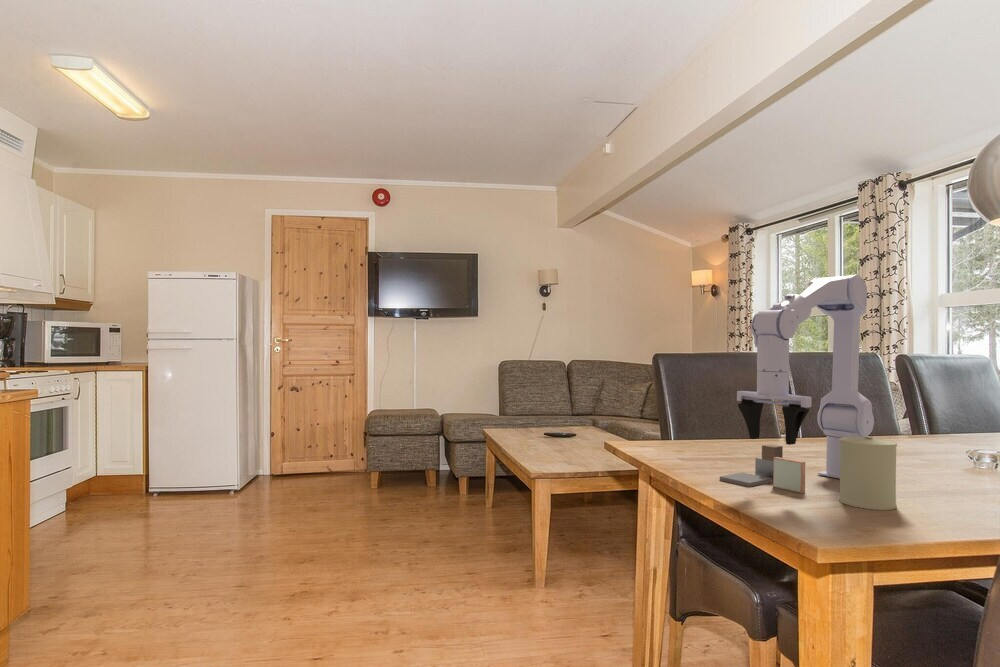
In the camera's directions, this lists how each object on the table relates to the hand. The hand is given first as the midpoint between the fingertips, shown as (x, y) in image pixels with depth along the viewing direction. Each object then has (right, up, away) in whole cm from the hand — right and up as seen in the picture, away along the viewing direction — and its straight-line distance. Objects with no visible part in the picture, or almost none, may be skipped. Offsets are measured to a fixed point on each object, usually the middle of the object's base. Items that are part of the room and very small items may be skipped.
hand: (772, 441), depth 122 cm
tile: (+5, -10, +3) cm, 12 cm away
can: (+15, -11, -7) cm, 19 cm away
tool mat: (-1, -10, +10) cm, 14 cm away
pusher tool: (+6, -10, +14) cm, 18 cm away
